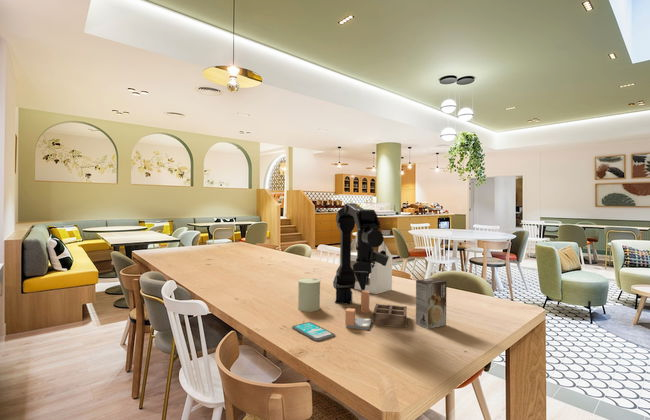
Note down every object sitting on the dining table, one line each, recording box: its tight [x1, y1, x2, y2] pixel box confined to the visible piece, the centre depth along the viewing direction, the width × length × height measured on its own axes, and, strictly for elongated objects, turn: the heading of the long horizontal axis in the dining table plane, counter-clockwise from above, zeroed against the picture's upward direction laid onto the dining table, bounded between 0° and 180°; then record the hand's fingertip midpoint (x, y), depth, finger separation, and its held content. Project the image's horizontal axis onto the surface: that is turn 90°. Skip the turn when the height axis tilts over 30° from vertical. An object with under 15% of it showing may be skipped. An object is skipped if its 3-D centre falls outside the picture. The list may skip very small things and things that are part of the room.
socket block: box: [372, 303, 408, 328], centre depth 123 cm, size 12×12×4 cm
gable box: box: [351, 233, 393, 295], centre depth 171 cm, size 22×13×28 cm, turn 43°
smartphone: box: [291, 321, 336, 343], centre depth 111 cm, size 9×1×15 cm
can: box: [297, 277, 321, 313], centre depth 136 cm, size 9×9×12 cm
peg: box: [360, 290, 370, 314], centre depth 133 cm, size 3×3×8 cm
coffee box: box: [415, 277, 447, 330], centre depth 119 cm, size 9×6×16 cm
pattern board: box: [344, 307, 373, 331], centre depth 118 cm, size 8×8×6 cm
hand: (364, 286), depth 119 cm, fingers open, 9 cm apart
